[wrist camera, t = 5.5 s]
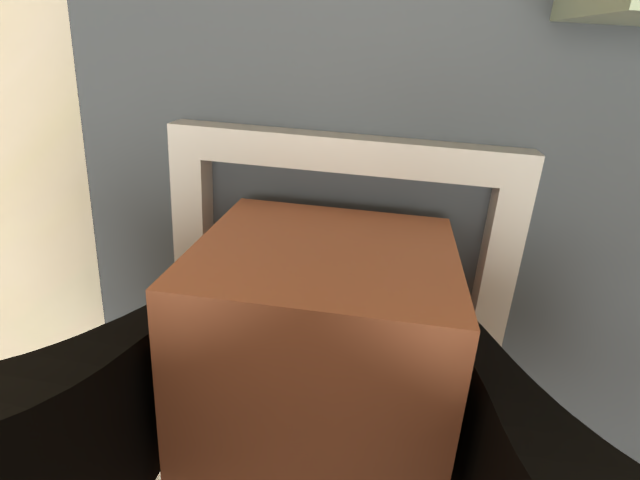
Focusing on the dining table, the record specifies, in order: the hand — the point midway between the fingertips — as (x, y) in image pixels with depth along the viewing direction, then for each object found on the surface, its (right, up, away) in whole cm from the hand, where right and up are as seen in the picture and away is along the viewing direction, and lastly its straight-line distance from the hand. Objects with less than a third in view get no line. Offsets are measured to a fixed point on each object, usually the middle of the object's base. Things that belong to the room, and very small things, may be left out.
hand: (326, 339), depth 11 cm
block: (0, +1, +1) cm, 2 cm away
